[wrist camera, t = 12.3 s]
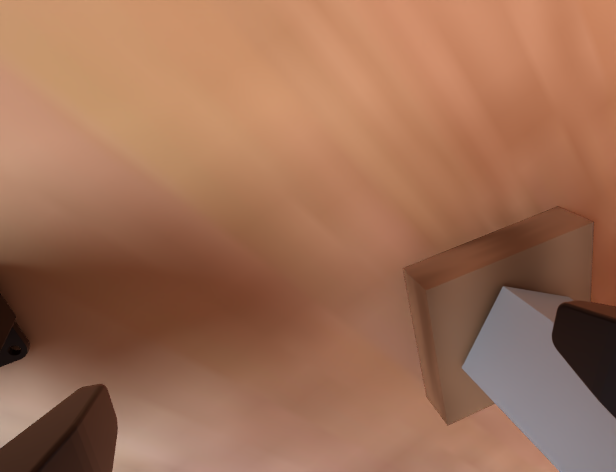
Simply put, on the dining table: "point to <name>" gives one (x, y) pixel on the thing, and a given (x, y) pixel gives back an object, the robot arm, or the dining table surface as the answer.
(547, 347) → the tin
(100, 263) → the dining table surface
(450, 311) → the brown square tray
